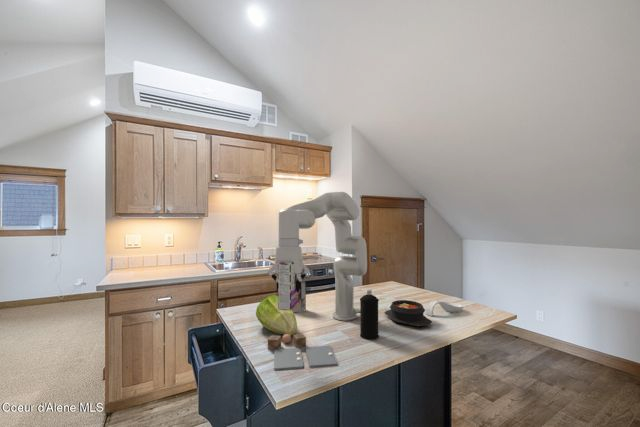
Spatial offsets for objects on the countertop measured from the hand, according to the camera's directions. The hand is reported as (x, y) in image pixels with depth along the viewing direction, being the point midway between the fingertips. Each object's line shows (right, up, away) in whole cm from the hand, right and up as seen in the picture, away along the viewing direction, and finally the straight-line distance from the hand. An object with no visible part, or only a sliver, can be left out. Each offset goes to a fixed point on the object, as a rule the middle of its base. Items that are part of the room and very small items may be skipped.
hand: (288, 291), depth 103 cm
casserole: (+56, -26, +38) cm, 72 cm away
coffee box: (-1, -26, +54) cm, 60 cm away
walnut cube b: (-7, -25, +8) cm, 27 cm away
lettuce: (-7, -25, +26) cm, 37 cm away
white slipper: (+80, -26, +51) cm, 98 cm away
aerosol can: (+33, -25, +20) cm, 46 cm away
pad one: (+12, -25, +1) cm, 27 cm away
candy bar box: (0, -5, 0) cm, 5 cm away
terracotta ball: (-2, -23, +13) cm, 26 cm away
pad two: (0, -24, -1) cm, 24 cm away
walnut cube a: (+3, -25, +10) cm, 27 cm away
